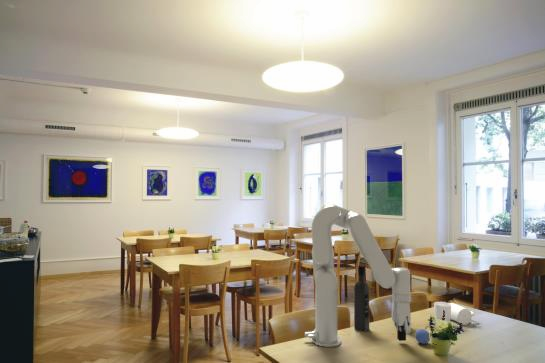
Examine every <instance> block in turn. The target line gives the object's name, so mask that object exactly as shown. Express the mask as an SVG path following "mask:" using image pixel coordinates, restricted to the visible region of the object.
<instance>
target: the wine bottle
mask: <svg viewBox="0 0 545 363" xmlns="http://www.w3.org/2000/svg"><path fill="white" fill-rule="evenodd" d="M357 270H358V272H357V273H358V281H356V282H355V284H354V287H353V301H354V302H353V304H354V305H353V313H354V314H353V315H354V318H353V322H354V324H353V325H354V329H355V331H360V332H363V333H364V332H366V331H368V330H369V329H370V288H369V284H368V283H367V282H366V281H365V265H362V264H360V265H358V266H357Z"/></svg>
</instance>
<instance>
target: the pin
mask: <svg viewBox="0 0 545 363" xmlns="http://www.w3.org/2000/svg"><path fill="white" fill-rule="evenodd" d="M410 315H412V314H411V313H410ZM411 326H412V323H411V324H410V326H408V330H406V335H407V334H410V335H411V333H412V329H411V328H412V327H411Z"/></svg>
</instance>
